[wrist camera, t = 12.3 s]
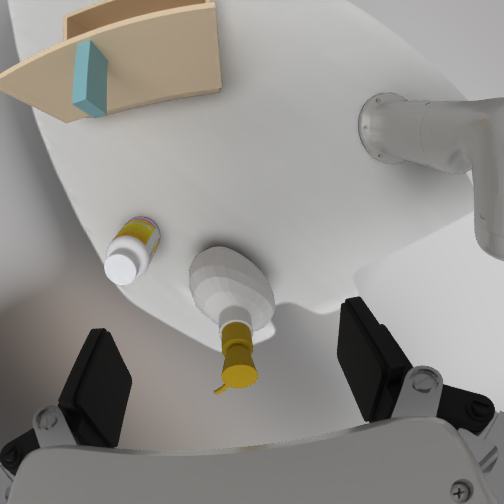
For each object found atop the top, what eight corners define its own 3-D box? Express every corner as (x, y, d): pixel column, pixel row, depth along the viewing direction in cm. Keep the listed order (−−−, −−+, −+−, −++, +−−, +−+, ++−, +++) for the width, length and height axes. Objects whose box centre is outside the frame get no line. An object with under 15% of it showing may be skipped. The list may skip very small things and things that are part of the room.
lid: (214, 2, 16) (222, 65, 16) (221, 83, 32) (226, 129, 32) (-10, 79, 15) (-18, 141, 16) (66, 119, 31) (66, 163, 31)
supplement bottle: (119, 220, 47) (90, 252, 36) (154, 211, 47) (134, 241, 36) (130, 256, 50) (107, 294, 39) (165, 248, 50) (149, 287, 39)
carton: (210, 2, 34) (207, -25, 25) (219, 92, 41) (219, 84, 32) (90, 30, 33) (63, 15, 24) (96, 117, 40) (68, 118, 31)
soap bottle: (181, 266, 52) (156, 379, 28) (207, 224, 49) (196, 323, 26) (249, 302, 56) (267, 418, 33) (277, 266, 54) (316, 375, 30)
